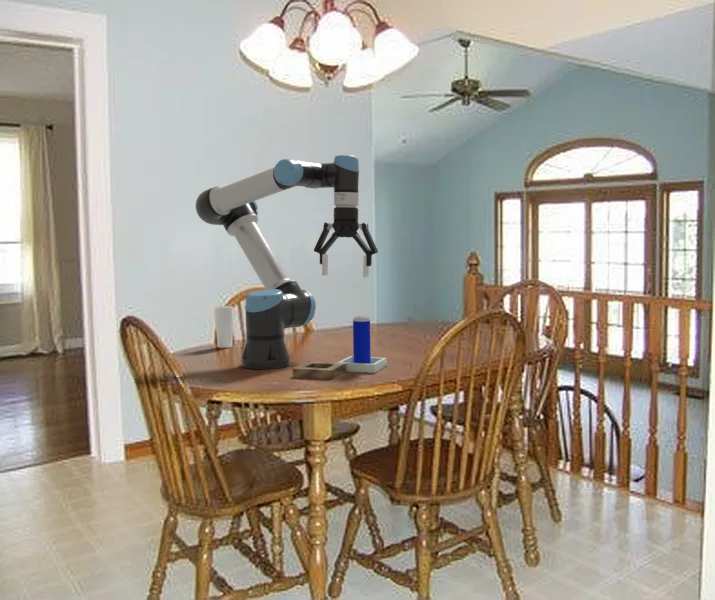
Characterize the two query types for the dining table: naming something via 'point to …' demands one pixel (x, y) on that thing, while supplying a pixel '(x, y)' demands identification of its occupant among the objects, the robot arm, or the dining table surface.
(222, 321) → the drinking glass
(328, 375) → the socket block
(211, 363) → the dining table surface
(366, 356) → the beverage can
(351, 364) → the tray
